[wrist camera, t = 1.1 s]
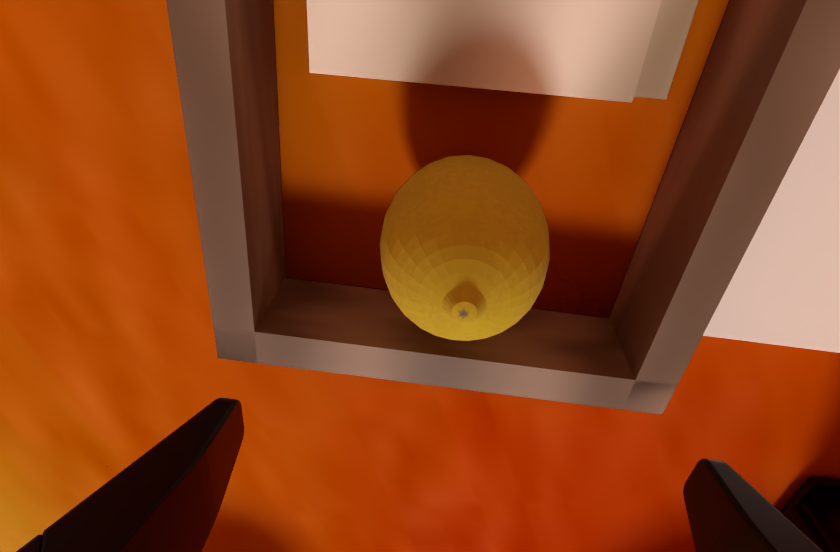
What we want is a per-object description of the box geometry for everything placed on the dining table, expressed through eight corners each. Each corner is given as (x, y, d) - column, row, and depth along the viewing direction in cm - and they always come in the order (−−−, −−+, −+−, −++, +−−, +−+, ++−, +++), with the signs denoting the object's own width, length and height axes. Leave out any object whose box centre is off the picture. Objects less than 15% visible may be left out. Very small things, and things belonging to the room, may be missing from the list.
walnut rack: (843, -144, 14) (967, -181, 11) (632, 349, 23) (662, 414, 20) (206, -221, 14) (125, -282, 11) (253, 301, 23) (218, 358, 20)
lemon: (385, 135, 19) (343, 227, 12) (534, 121, 18) (576, 211, 12) (403, 261, 22) (378, 393, 15) (532, 253, 21) (567, 387, 14)
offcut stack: (692, -42, 16) (736, -44, 13) (651, 90, 18) (683, 110, 15) (316, -75, 16) (288, -82, 13) (320, 59, 18) (297, 74, 16)
